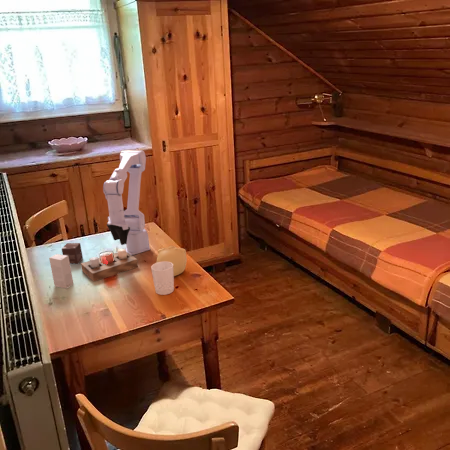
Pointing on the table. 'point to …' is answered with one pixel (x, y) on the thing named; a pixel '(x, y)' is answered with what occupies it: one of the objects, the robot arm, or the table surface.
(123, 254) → the cream plug
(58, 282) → the skincare box
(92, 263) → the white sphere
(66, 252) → the box
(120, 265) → the light brown rack
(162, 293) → the white cup
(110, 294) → the table surface
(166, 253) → the pale yellow rounded lump
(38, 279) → the table surface
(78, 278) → the table surface
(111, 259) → the salmon pink egg
